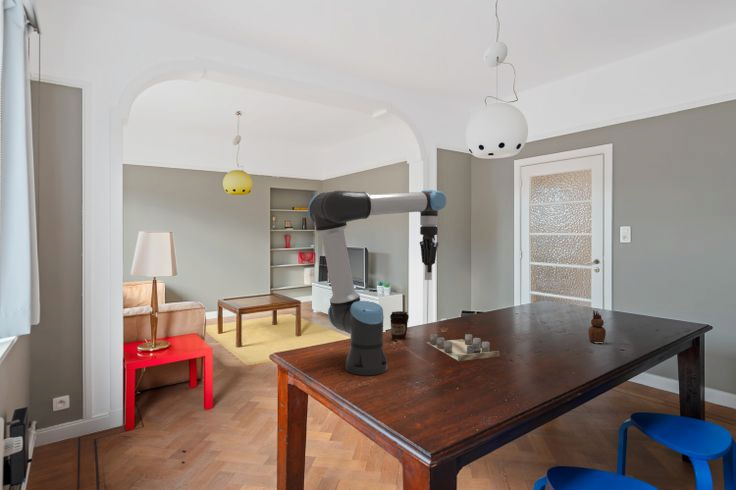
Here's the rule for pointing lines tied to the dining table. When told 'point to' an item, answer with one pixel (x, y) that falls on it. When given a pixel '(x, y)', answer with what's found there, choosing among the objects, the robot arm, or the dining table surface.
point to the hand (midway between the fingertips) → (428, 279)
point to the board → (462, 347)
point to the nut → (473, 349)
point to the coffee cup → (398, 325)
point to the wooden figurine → (597, 329)
